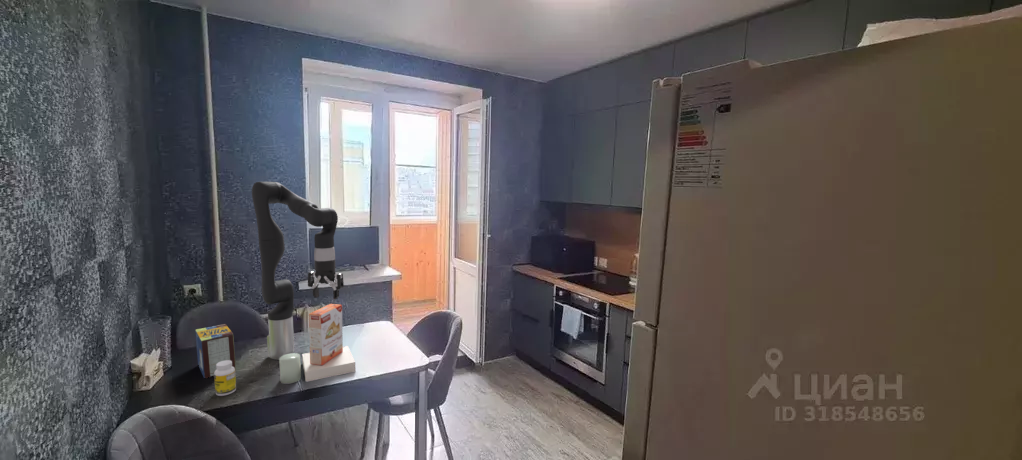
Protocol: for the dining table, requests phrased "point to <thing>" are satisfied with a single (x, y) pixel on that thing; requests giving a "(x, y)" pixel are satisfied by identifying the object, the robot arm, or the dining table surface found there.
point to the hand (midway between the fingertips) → (326, 297)
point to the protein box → (214, 348)
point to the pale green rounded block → (290, 368)
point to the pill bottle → (224, 378)
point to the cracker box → (325, 334)
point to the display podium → (329, 366)
